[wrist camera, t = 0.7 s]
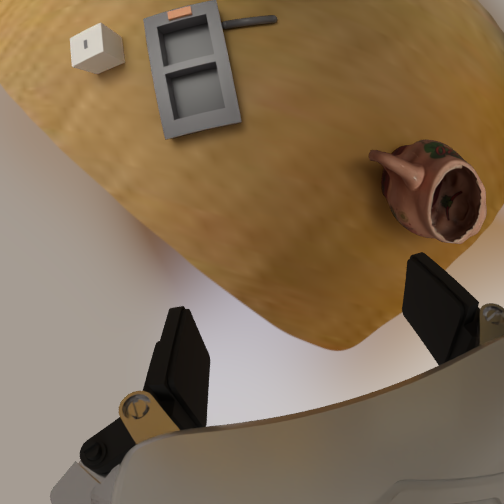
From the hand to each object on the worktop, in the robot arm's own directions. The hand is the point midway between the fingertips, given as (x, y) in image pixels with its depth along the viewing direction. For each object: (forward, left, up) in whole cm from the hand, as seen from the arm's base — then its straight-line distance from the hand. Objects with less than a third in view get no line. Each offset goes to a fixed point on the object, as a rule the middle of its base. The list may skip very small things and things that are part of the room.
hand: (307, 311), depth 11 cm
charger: (-23, -16, -27) cm, 39 cm away
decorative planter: (+2, +21, -27) cm, 34 cm away
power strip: (-17, -1, -27) cm, 32 cm away
